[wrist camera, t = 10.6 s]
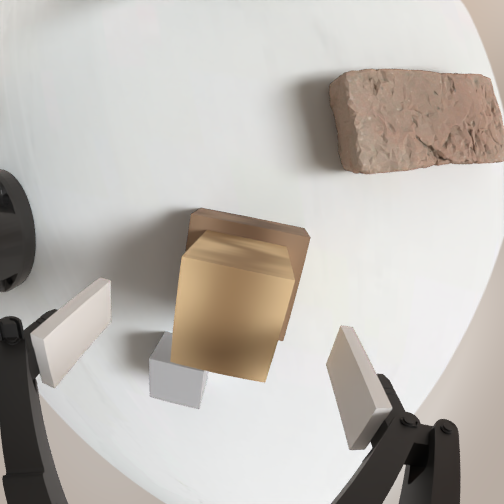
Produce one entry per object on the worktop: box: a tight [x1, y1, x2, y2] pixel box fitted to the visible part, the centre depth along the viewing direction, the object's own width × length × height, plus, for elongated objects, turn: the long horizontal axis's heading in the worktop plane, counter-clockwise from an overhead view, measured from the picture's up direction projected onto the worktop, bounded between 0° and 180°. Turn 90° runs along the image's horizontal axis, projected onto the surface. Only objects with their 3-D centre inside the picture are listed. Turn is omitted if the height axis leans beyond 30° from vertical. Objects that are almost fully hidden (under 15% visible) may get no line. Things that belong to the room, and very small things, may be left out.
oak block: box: [170, 230, 295, 382], centre depth 20 cm, size 6×7×7 cm
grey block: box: [149, 332, 209, 409], centre depth 27 cm, size 5×5×5 cm
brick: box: [329, 69, 504, 174], centre depth 20 cm, size 17×8×5 cm, turn 101°
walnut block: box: [186, 208, 310, 341], centre depth 25 cm, size 9×9×4 cm
